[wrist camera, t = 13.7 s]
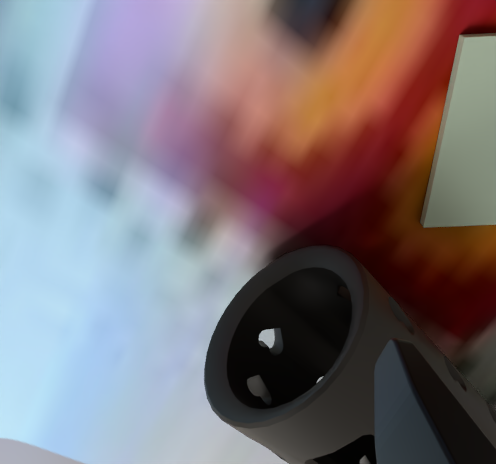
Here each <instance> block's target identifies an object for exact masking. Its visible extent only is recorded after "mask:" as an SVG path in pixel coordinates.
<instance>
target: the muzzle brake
mask: <svg viewBox="0 0 496 464" xmlns="http://www.w3.org/2000/svg"><path fill="white" fill-rule="evenodd" d="M273 328H274V333H275V341H274V345H273V347H272V348H270V349H269V347H268V346H267V345H266V344H265V343H264V342H263V341H259V340H258V339H259V334H260V333H261V331H263V330H265V329H273ZM392 338H398V339H403V340H407V341H410V342H412V343H413V344H414V345H415V346H416V347H417V349H418V350H419V351H420V353H421V354H422V355H423V356H424V358H425V359H426V360H427V361H428V363H429V364H430V365H431V367H432V368H433V369H434V370H435V372H436V373H437V374H438V375H439V377H440V378H441V379H442V381H443V382H444V383H445V384H446V386H447V387H448V388H449V389H450V391H451V392H452V393H453V394H454V396H455V397H456V398H457V400H458V401H459V402H460V403H461V405H462V406H463V407H464V408H465V410H466V411H467V412H468V414H469V415H470V416H471V417H472V419H473V420H474V421H475V422H476V424H477V425H478V426H479V428H480V429H481V430H482V431H483V433H484V434H485V435H486V436H487V438H488V439H489V440H490V442H491V443H492V444H493V445H494V447H495V448H496V411H495V410H494V409H493V408H492V407H491V406H490V405H489V404H488V403H487V401H486V400H485V399H484V398H483V397H482V396H481V395H480V394H479V393H478V391H477V390H476V389H475V388H474V387H473V386H472V385H471V384H470V383H469V382H468V380H467V379H466V378H465V377H464V376H463V375H462V374H461V373H460V372H459V371H458V369H457V368H456V367H455V366H454V365H453V364H452V363H451V362H450V361H449V360H448V359H447V357H446V356H445V355H444V354H443V353H442V352H441V351H440V350H439V349H438V347H437V346H436V345H435V344H434V343H433V342H432V341H431V340H430V339H429V338H428V336H427V335H426V334H425V333H424V332H423V331H422V330H421V329H420V328H419V327H418V325H417V324H416V323H415V322H414V321H413V320H412V319H411V318H410V317H409V316H408V314H407V313H406V312H405V311H404V310H403V309H402V308H401V307H400V306H399V305H398V304H397V302H396V301H395V300H394V299H393V298H392V297H391V296H390V295H389V294H388V293H387V291H386V290H385V289H384V288H383V287H382V286H381V285H380V284H379V283H378V281H377V280H376V279H375V278H374V277H373V276H372V275H371V274H370V273H369V272H368V270H367V269H366V268H365V267H364V266H363V265H362V264H361V263H360V262H359V261H358V260H357V259H356V258H355V257H354V256H353V255H352V254H351V253H349V252H347V251H345V250H344V249H342V248H340V247H334V246H329V245H317V246H310V247H305V248H301V249H298V250H295V251H293V252H290V253H285V254H283V255H282V256H280V257H279V258H277V259H276V260H274V261H273V262H271V263H270V264H269V265H268V266H267V267H265V268H264V269H262V270H261V271H259V272H258V273H257V274H256V275H255V276H254V277H252V278H251V279H250V280H249V281H248V282H247V283H246V284H245V285H244V286H243V287H242V289H241V290H240V291H239V292H238V293H237V294H236V295H235V297H234V298H233V300H232V301H231V302H230V304H229V305H228V307H227V308H226V310H225V311H224V313H223V315H222V317H221V318H220V320H219V322H218V324H217V326H216V329H215V331H214V333H213V335H212V338H211V341H210V344H209V348H208V351H207V356H206V362H205V369H204V385H205V390H206V395H207V399H208V401H209V403H210V405H211V408H212V410H213V411H214V412H215V413H216V414H217V415H218V416H219V417H220V419H221V420H223V421H224V422H226V423H227V424H229V425H230V426H232V427H233V428H235V429H236V430H238V431H240V432H241V433H243V434H244V435H246V436H247V437H249V438H251V439H252V440H254V441H256V442H258V443H260V444H261V445H263V446H265V447H266V448H268V449H269V450H271V451H272V452H273V453H275V454H276V455H277V456H279V457H280V458H281V459H283V460H284V461H286V462H287V463H289V464H377V459H376V449H375V428H374V369H375V364H376V362H377V360H378V358H379V356H380V355H381V353H382V351H383V349H384V348H385V346H386V344H387V343H388V341H389V340H390V339H392ZM322 376H324V377H323V378H322V379H321V380H320V381H319V382H318V383H317V384H316V382H317V380H318V379H319V378H320V377H322Z"/></svg>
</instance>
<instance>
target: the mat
mask: <svg viewBox="0 0 496 464" xmlns="http://www.w3.org/2000/svg"><path fill="white" fill-rule="evenodd" d="M420 223H421V225H422V226H423V228H427V227H451V226H475V225H496V33H486V34H465V35H459V40H458V45H457V49H456V54H455V59H454V64H453V68H452V73H451V78H450V83H449V87H448V92H447V97H446V102H445V106H444V111H443V116H442V121H441V125H440V130H439V135H438V140H437V144H436V149H435V154H434V159H433V163H432V168H431V173H430V178H429V182H428V187H427V192H426V197H425V201H424V206H423V211H422V216H421V220H420Z"/></svg>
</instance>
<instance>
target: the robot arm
mask: <svg viewBox="0 0 496 464" xmlns="http://www.w3.org/2000/svg"><path fill="white" fill-rule="evenodd" d="M374 428H375V449H376V459H377V464H496V448H495V447H494V445H493V444H492V443H491V442H490V440H489V439H488V438H487V436H486V435H485V434H484V433H483V431H482V430H481V429H480V428H479V426H478V425H477V424H476V422H475V421H474V420H473V419H472V417H471V416H470V415H469V414H468V412H467V411H466V410H465V408H464V407H463V406H462V405H461V403H460V402H459V401H458V400H457V398H456V397H455V396H454V394H453V393H452V392H451V391H450V389H449V388H448V387H447V386H446V384H445V383H444V382H443V381H442V379H441V378H440V377H439V375H438V374H437V373H436V372H435V370H434V369H433V368H432V367H431V365H430V364H429V363H428V361H427V360H426V359H425V358H424V356H423V355H422V354H421V353H420V351H419V350H418V349H417V347H416V346H415V345H414V344H413V343H412V342H410V341H407V340H403V339H398V338H392V339H390V340H389V341H388V343H387V344H386V346H385V348H384V349H383V351H382V353H381V355H380V356H379V358H378V360H377V362H376V364H375V369H374Z"/></svg>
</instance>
